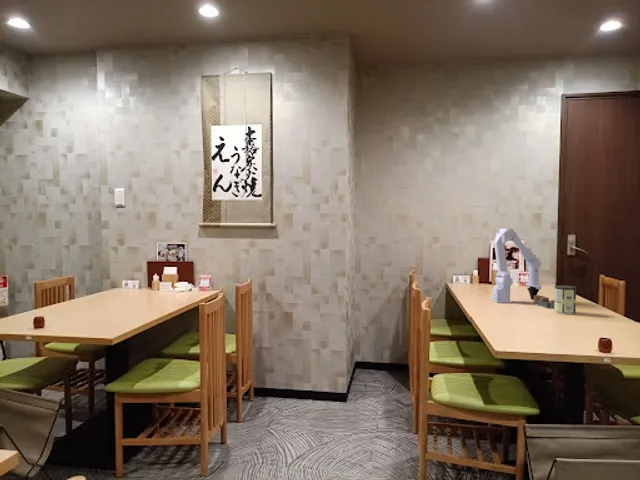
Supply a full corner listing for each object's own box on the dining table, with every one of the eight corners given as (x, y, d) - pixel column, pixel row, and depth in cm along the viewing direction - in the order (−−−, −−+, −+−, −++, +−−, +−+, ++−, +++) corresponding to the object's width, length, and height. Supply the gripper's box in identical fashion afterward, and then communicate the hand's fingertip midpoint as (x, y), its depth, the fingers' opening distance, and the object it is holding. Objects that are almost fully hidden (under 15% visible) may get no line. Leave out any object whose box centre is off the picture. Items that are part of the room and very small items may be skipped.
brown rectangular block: (548, 305, 275) (548, 297, 275) (542, 305, 274) (543, 298, 274) (539, 302, 285) (539, 295, 285) (533, 302, 284) (533, 295, 284)
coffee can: (563, 310, 259) (564, 284, 258) (580, 314, 250) (581, 287, 249) (549, 311, 255) (550, 285, 255) (565, 315, 246) (566, 288, 245)
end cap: (537, 305, 275) (537, 300, 275) (552, 305, 275) (553, 300, 275) (546, 308, 265) (546, 302, 265) (562, 308, 266) (562, 302, 266)
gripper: (546, 278, 281) (546, 301, 282) (533, 275, 296) (533, 297, 296) (535, 278, 281) (534, 301, 281) (522, 275, 295) (522, 297, 296)
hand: (533, 299), depth 289 cm, fingers closed
